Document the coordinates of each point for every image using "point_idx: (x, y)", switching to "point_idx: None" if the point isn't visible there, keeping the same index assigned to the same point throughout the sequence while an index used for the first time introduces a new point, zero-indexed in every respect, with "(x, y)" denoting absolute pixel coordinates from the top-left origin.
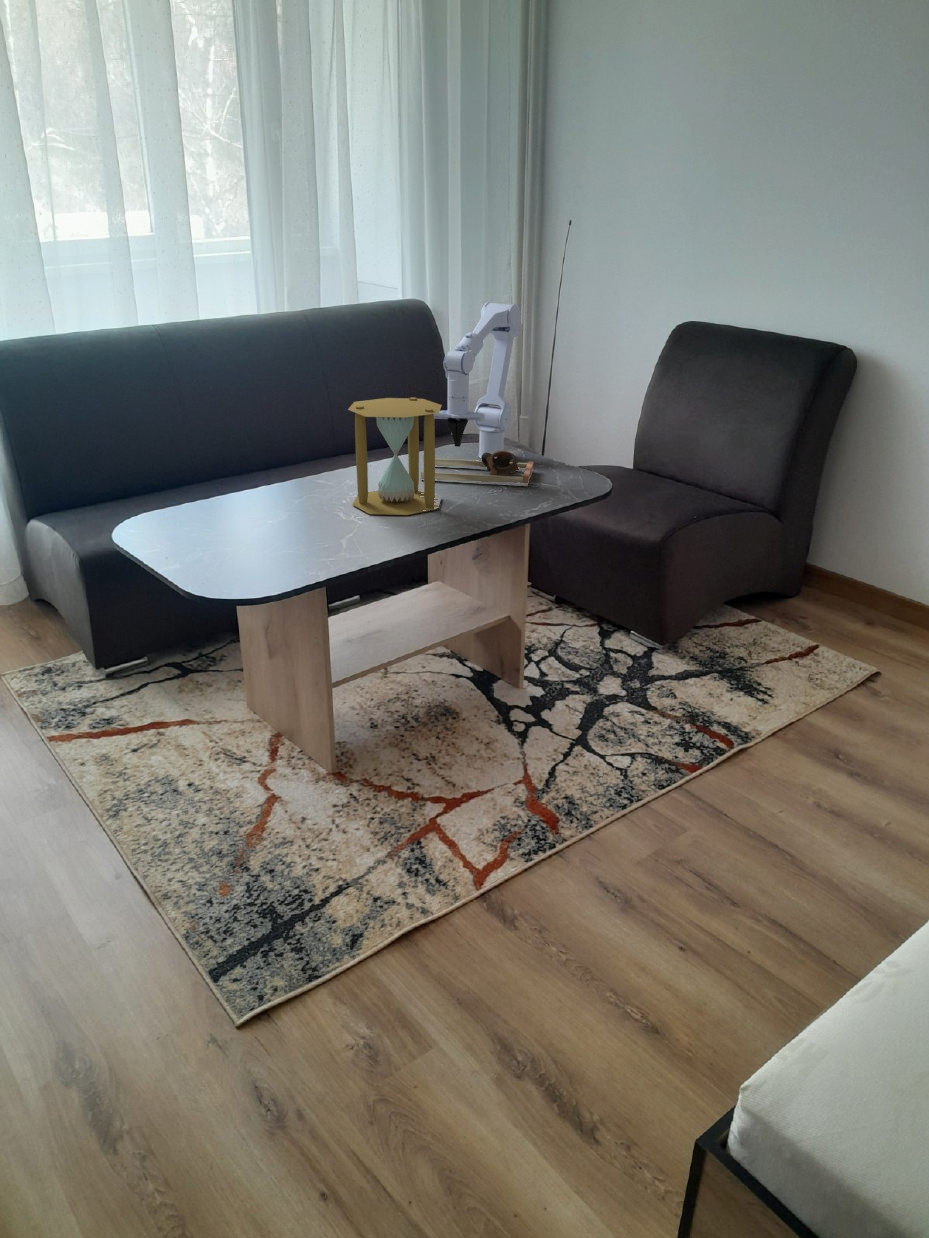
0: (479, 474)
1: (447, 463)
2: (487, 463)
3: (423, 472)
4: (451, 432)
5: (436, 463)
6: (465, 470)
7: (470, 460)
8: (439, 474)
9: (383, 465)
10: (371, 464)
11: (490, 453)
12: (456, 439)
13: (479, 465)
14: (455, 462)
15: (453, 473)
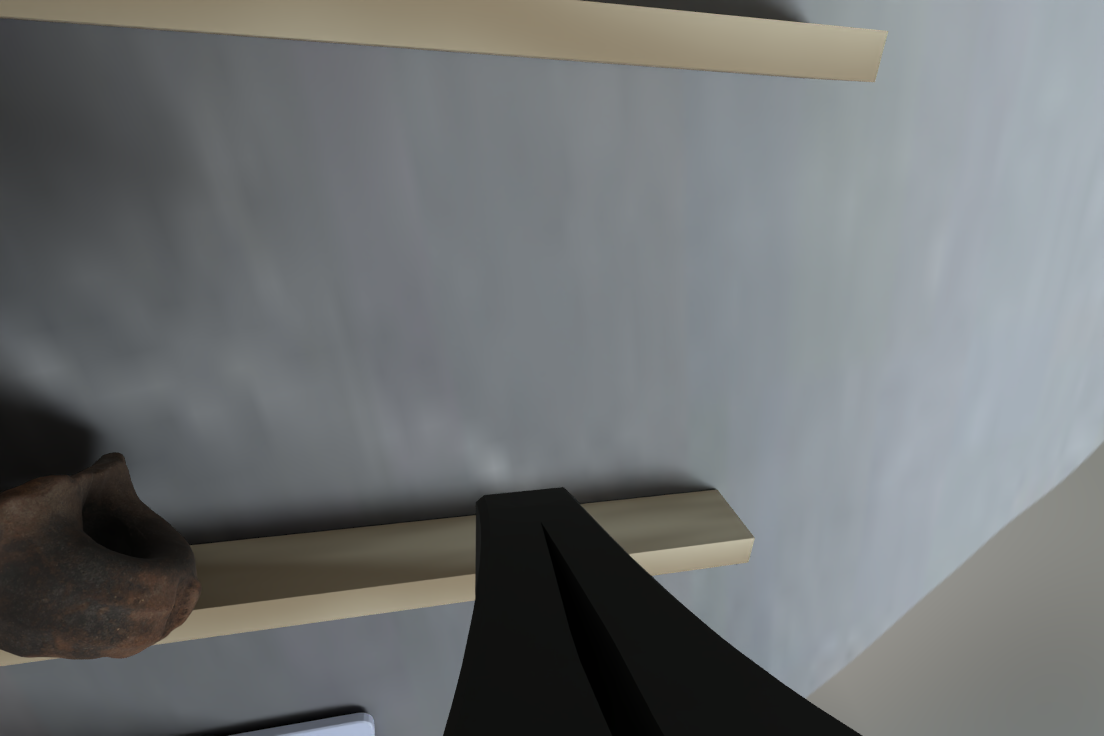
0: (24, 16)
1: None
2: (64, 477)
3: (857, 30)
4: (778, 680)
5: (686, 518)
6: (411, 493)
7: (373, 602)
8: (658, 11)
9: (1031, 443)
10: (1097, 443)
11: (6, 651)
12: (573, 569)
13: (270, 568)
14: None
15: (471, 24)
